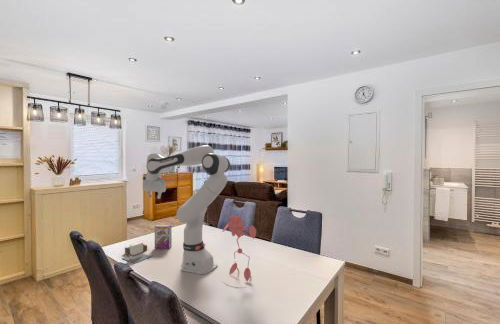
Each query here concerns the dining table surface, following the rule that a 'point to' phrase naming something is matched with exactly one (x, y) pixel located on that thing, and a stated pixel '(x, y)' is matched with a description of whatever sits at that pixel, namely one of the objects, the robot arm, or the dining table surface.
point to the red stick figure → (237, 229)
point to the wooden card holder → (127, 251)
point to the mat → (136, 259)
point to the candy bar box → (163, 236)
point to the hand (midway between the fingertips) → (154, 197)
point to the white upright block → (136, 250)
